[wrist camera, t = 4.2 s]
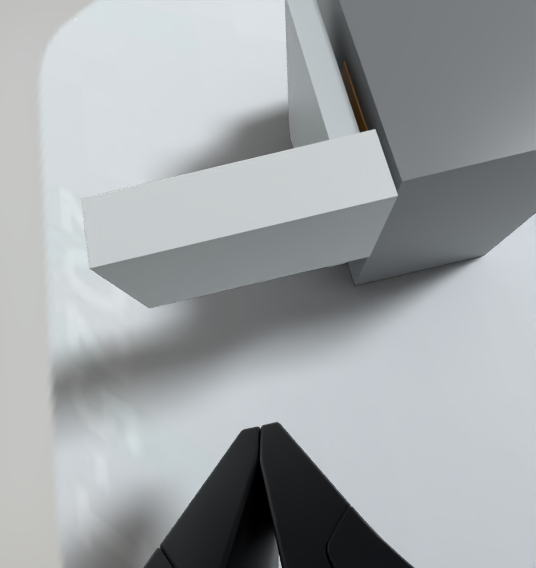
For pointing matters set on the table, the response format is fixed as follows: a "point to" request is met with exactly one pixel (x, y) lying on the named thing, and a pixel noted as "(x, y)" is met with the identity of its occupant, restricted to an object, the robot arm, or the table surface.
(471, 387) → the table surface
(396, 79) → the block
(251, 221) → the side door
